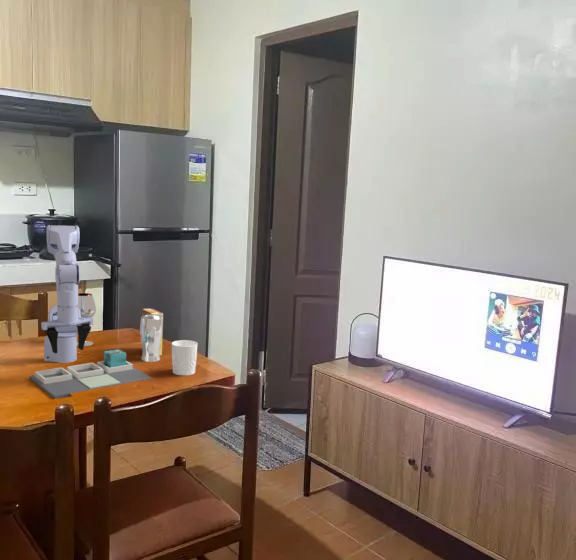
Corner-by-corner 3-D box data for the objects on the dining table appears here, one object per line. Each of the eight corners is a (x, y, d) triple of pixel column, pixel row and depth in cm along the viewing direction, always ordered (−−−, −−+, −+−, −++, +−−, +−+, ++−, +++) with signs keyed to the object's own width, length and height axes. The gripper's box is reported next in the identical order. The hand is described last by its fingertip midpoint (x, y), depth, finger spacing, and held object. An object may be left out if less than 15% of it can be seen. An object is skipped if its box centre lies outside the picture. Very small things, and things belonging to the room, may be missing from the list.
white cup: (174, 370, 193) (174, 339, 191) (198, 371, 193) (199, 340, 191) (168, 377, 185) (169, 345, 184) (194, 379, 185) (195, 347, 183)
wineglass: (68, 343, 218) (67, 293, 215) (89, 339, 223) (89, 291, 221) (77, 348, 212) (77, 297, 209) (99, 344, 217) (100, 295, 215)
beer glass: (156, 365, 197) (156, 320, 194) (136, 363, 198) (136, 318, 196) (164, 359, 204) (165, 315, 201) (145, 357, 205) (145, 314, 203)
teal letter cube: (104, 367, 190) (104, 351, 189) (119, 364, 193) (119, 349, 192) (110, 371, 186) (110, 355, 185) (126, 368, 189) (126, 352, 188)
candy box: (140, 352, 211) (141, 308, 209) (152, 350, 214) (153, 307, 211) (151, 358, 204) (152, 313, 202) (163, 357, 207) (163, 312, 204)
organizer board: (29, 378, 178) (29, 370, 178) (122, 363, 197) (122, 356, 197) (54, 398, 163) (54, 390, 163) (152, 380, 182) (152, 373, 181)
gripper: (46, 310, 169) (47, 357, 171) (97, 305, 178) (97, 350, 180) (38, 305, 175) (39, 351, 177) (88, 301, 184) (88, 345, 186)
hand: (68, 350), depth 179 cm, fingers open, 7 cm apart
